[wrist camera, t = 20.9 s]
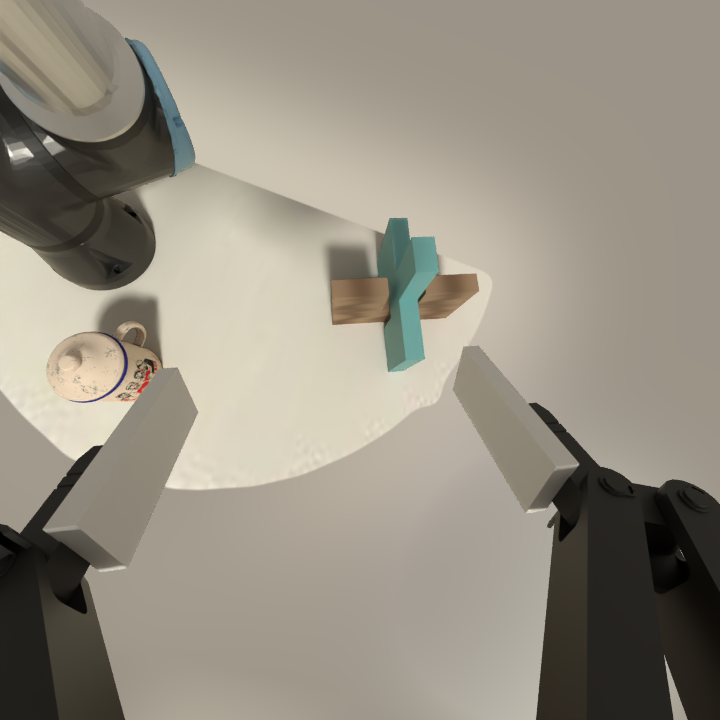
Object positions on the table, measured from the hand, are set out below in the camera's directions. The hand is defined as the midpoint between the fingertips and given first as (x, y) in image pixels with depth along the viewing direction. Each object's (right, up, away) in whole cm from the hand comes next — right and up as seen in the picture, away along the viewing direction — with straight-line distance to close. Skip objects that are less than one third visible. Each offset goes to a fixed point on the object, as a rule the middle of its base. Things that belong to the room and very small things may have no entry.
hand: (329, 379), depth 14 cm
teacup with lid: (-33, 0, +31) cm, 46 cm away
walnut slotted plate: (+7, +9, +36) cm, 38 cm away
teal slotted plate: (+7, +9, +36) cm, 38 cm away
